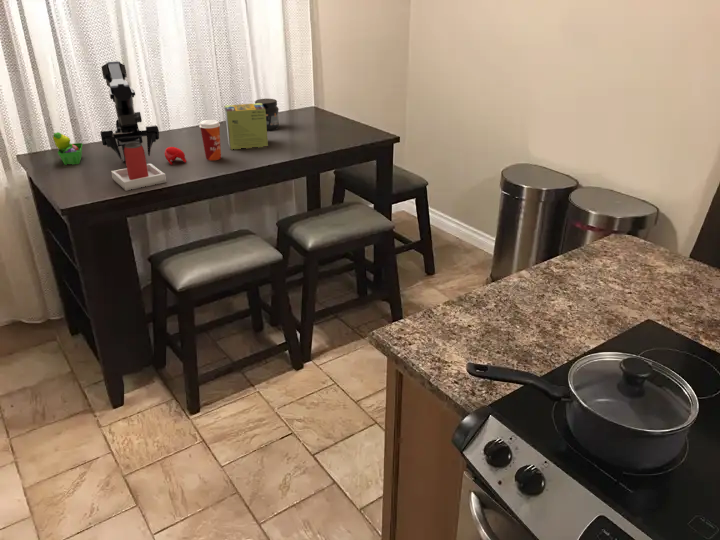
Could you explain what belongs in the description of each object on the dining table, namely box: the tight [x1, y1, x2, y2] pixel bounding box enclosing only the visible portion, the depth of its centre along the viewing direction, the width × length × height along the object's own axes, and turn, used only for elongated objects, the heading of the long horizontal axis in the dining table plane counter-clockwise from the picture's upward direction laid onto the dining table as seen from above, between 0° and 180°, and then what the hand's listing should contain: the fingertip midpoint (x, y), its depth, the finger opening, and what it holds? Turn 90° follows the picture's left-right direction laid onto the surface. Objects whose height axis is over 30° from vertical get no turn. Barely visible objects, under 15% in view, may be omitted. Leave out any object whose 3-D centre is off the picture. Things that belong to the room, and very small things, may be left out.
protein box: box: [223, 102, 269, 151], centre depth 245 cm, size 10×15×16 cm
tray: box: [110, 162, 167, 192], centre depth 211 cm, size 14×14×3 cm
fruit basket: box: [52, 131, 83, 166], centre depth 227 cm, size 11×9×11 cm
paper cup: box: [199, 119, 222, 161], centre depth 230 cm, size 8×8×14 cm
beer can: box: [124, 142, 149, 180], centre depth 208 cm, size 7×7×12 cm
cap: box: [164, 146, 187, 166], centre depth 228 cm, size 8×6×6 cm
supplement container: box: [254, 98, 280, 131], centre depth 268 cm, size 10×10×12 cm
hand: (135, 157), depth 206 cm, fingers open, 9 cm apart
